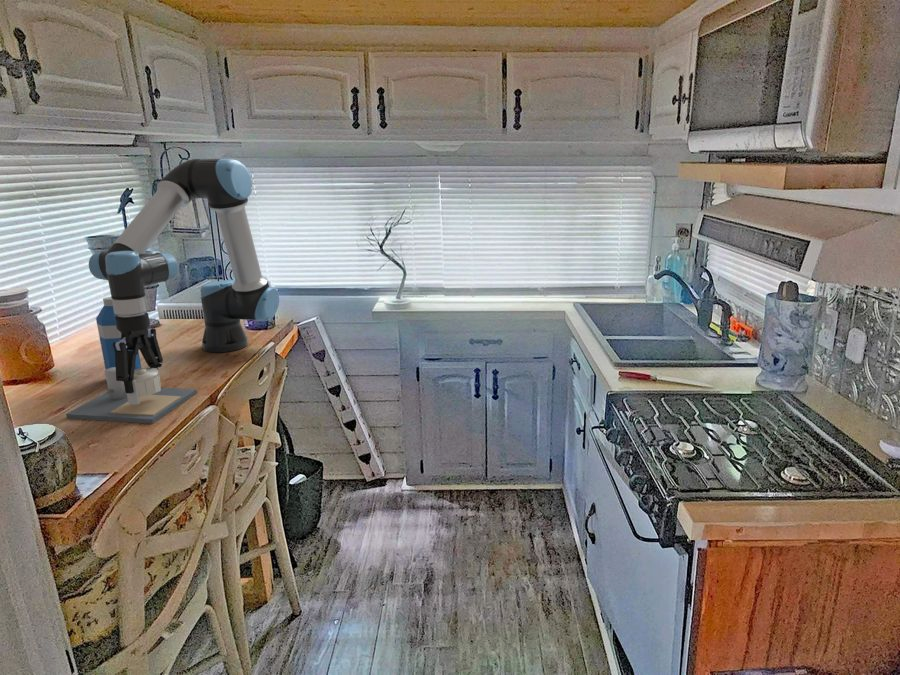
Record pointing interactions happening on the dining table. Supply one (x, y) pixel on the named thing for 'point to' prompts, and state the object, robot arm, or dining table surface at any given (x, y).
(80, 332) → the dining table surface
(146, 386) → the cap
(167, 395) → the board
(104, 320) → the water bottle
